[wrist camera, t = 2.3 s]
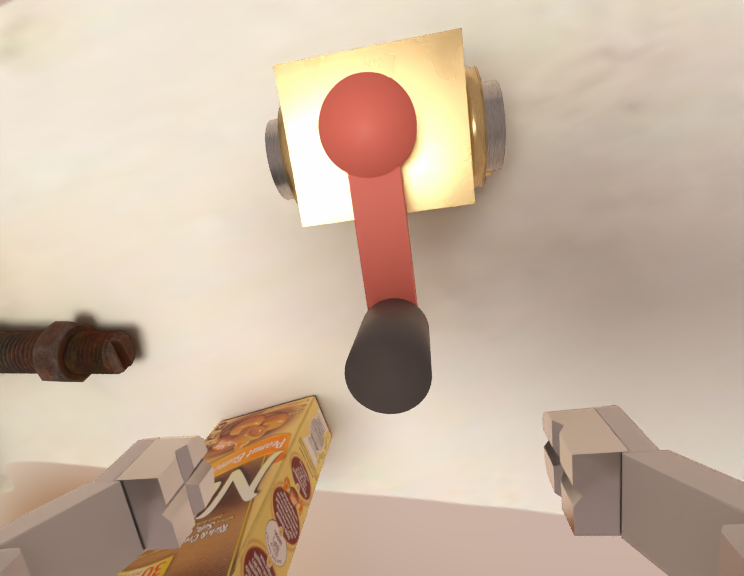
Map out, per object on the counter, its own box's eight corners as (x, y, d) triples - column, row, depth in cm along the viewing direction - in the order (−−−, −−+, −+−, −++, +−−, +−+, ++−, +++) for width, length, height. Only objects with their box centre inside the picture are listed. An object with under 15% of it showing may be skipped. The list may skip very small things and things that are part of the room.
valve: (480, 73, 25) (520, 4, 15) (488, 191, 26) (529, 198, 17) (291, 107, 26) (216, 66, 17) (310, 215, 28) (252, 235, 18)
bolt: (156, 342, 34) (-7, 341, 36) (127, 301, 31) (-53, 302, 32) (123, 404, 30) (-60, 401, 32) (85, 365, 27) (-120, 364, 28)
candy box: (315, 392, 32) (225, 576, 17) (335, 437, 33) (266, 650, 18) (218, 420, 33) (60, 610, 19) (239, 463, 34) (104, 676, 20)
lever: (411, 74, 16) (407, 22, 10) (440, 344, 18) (448, 410, 13) (320, 90, 16) (273, 49, 11) (362, 351, 19) (340, 417, 14)
